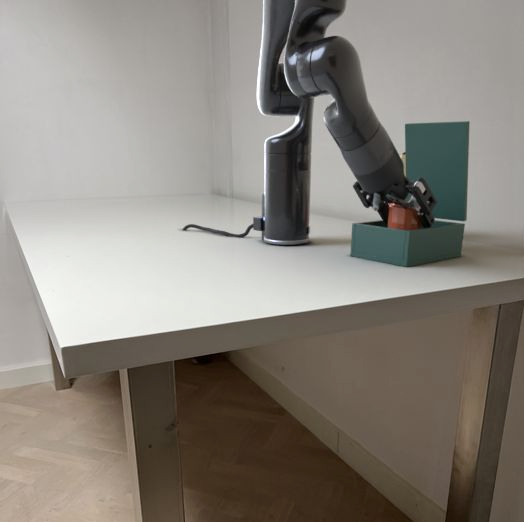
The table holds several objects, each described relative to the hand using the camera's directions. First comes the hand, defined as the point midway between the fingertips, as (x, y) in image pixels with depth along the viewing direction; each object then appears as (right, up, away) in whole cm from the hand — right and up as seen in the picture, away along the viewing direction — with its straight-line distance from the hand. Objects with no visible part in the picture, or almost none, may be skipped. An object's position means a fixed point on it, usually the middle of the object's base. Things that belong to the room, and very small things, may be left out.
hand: (409, 223), depth 99 cm
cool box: (0, -6, +2) cm, 6 cm away
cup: (-1, -5, +1) cm, 5 cm away
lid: (+5, +9, 0) cm, 10 cm away
